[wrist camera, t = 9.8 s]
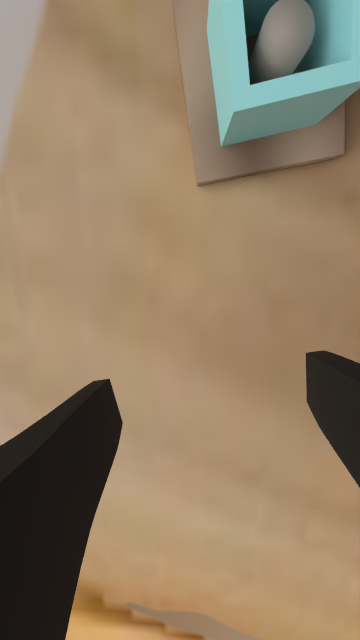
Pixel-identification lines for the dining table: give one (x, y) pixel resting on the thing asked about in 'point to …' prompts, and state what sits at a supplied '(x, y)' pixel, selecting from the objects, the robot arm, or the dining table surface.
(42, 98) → the dining table surface
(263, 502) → the dining table surface
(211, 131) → the pin plate
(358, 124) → the dining table surface
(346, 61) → the teal hollow block
